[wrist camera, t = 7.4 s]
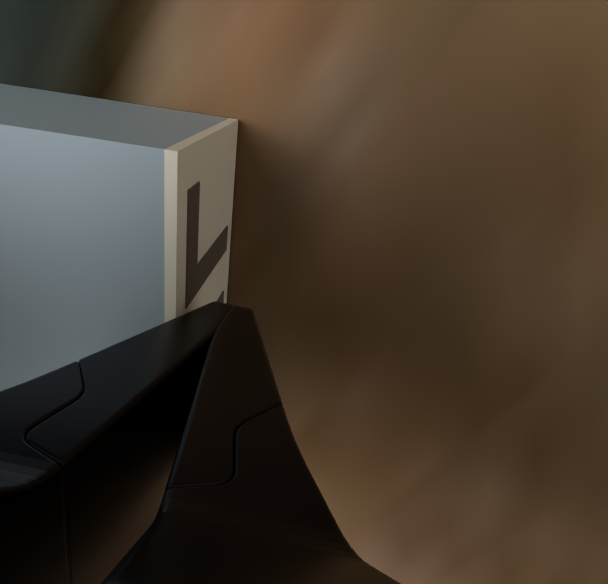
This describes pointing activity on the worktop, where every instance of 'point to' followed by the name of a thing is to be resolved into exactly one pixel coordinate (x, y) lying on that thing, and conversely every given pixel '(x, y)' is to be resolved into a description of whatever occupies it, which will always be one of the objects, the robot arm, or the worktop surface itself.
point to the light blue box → (105, 223)
